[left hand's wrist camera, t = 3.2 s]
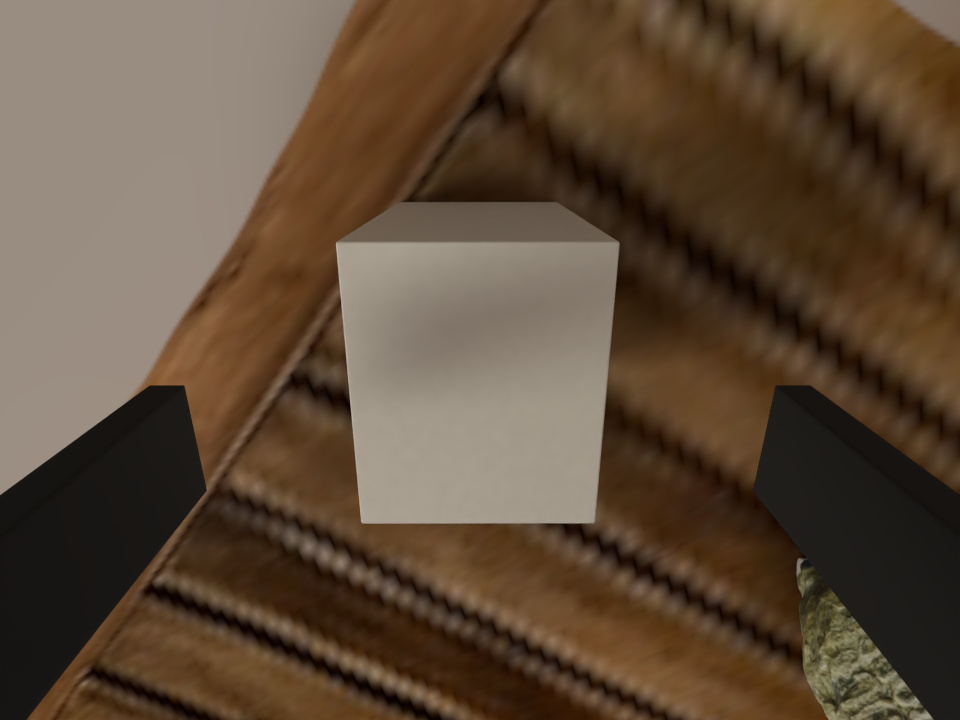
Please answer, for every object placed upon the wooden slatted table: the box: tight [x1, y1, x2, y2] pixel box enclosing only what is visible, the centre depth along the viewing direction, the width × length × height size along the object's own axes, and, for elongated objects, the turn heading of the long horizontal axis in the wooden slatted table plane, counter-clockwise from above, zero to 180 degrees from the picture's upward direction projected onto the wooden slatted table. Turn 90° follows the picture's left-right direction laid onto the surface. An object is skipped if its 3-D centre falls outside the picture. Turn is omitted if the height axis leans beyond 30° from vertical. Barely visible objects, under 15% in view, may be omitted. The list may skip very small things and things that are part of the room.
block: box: [336, 202, 619, 523], centre depth 21 cm, size 9×7×12 cm
